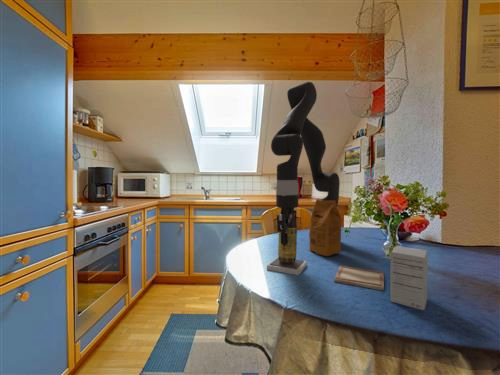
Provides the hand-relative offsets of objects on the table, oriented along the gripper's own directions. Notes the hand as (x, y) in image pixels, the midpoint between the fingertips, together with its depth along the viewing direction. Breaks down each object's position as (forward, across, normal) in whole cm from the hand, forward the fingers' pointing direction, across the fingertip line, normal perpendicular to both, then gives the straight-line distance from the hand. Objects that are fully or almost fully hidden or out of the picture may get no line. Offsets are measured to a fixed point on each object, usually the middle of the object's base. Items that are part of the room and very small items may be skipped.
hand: (287, 241), depth 88 cm
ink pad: (+9, 0, 0) cm, 9 cm away
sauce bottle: (+7, 0, 0) cm, 7 cm away
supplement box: (+9, +9, +35) cm, 37 cm away
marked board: (+9, -1, +23) cm, 25 cm away
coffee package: (+9, -24, +8) cm, 27 cm away
